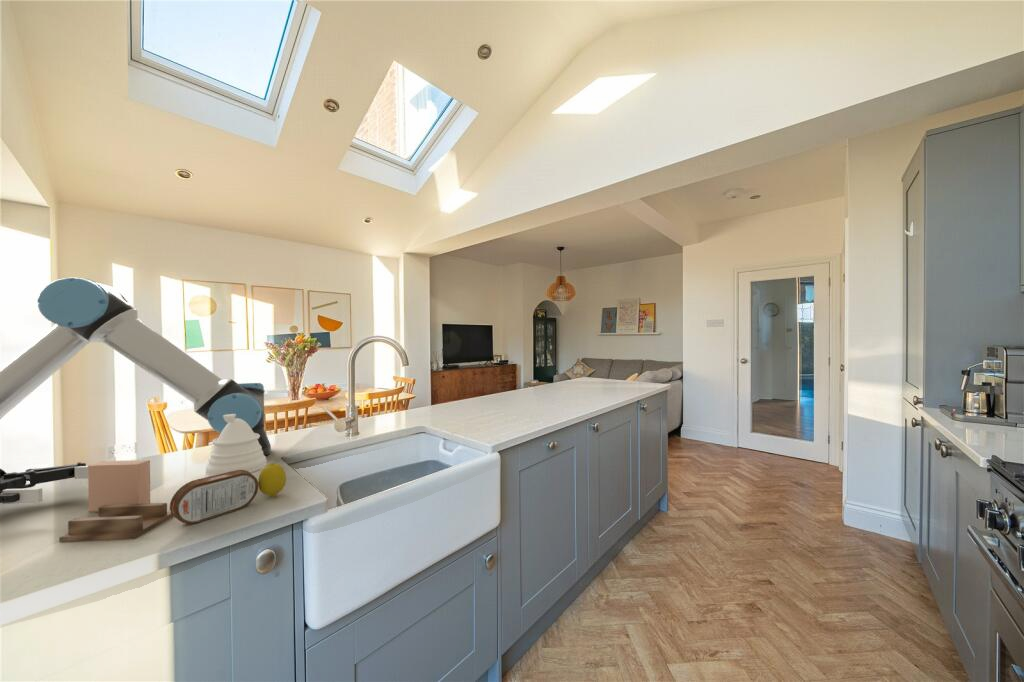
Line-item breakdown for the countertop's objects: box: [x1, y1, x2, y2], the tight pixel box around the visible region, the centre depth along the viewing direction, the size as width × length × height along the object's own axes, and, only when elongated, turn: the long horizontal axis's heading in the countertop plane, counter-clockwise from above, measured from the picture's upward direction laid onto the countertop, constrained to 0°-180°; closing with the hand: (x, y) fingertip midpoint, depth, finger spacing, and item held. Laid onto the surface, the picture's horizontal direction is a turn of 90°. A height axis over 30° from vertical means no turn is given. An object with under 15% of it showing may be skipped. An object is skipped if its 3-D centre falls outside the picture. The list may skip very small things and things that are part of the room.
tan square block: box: [87, 459, 151, 513], centre depth 85 cm, size 10×3×10 cm, turn 95°
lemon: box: [258, 462, 287, 498], centre depth 90 cm, size 6×6×8 cm
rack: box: [58, 502, 174, 543], centre depth 75 cm, size 13×9×3 cm
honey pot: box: [205, 414, 267, 480], centre depth 99 cm, size 13×13×18 cm
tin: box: [169, 470, 259, 524], centre depth 81 cm, size 15×3×8 cm, turn 146°
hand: (76, 482), depth 84 cm, fingers open, 13 cm apart
